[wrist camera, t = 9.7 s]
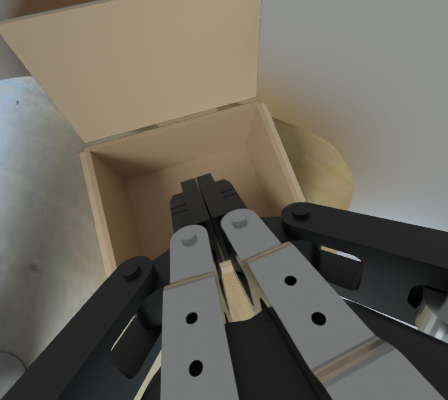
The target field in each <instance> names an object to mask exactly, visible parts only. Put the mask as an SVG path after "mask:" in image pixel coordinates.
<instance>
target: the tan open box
mask: <svg viewBox="0 0 448 400" xmlns="http://www.w3.org/2000/svg"><path fill="white" fill-rule="evenodd" d="M79 154H80V159H81V163H82V168H83V172H84V177H85V181H86V186H87V190H88V195H89V200H90V204H91V209H92V213H93V218H94V222H95V227H96V231H97V236H98V241H99V245H100V250H101V254H102V259H103V263H104V268H105V272H106V277H107V278H108V277H109V276H110V275H111V274H112V273H113V272H114V270H115V269H116V268H117V267H118V266H119V265H120V264H122V263H123V262H124V261H126V260H128V259H130V258H132V257H136V256H146V257H148V258H150V260H151V261H152V260H154V259H155V258H157V257H158V256H160V255H162V254H163V253H164V252H166V251H167V250H168V249H169V248H170V240H171V238H172V236H173V235H174V231H173V224H172V217H171V209H170V203H169V202H170V200H171V198H172V196H173V195H175V194H178V193H182V192H183V191H182V187H181V183H180V182H183V181H186V180H189V179H192V178H195V180H196V182H197V179H196V177H198V176H202V175H205V174H208V173H211V175H212V177H213V179H214V181H215V182H216V181H219V180H222V179H225V180H227V181H229V182H231V184H232V185H233V187H234V189H235V190H236V191H237V194H238V195H239V196H240V198H241V199H242V201H243V202H244V204H245V205H246V207H247V209H249V210H252V211H254V212H255V213H256V214H257V215H258V216H259V217H277V216H281V212H282V210H283V209H284V207H286V206H287V205H289V204H292V203H296V202H306V201H305V198H304V196H303V193H302V191H301V188H300V186H299V184H298V181H297V179H296V176H295V174H294V171H293V169H292V166H291V164H290V161H289V159H288V156H287V154H286V152H285V149H284V147H283V144H282V142H281V139H280V137H279V134H278V132H277V129H276V127H275V124H274V122H273V119H272V117H271V115H270V112H269V110H268V107H267V105H266V102H264V103H261V102H260V100H258V101H254V102H250V103H247V104H243V105H239V106H236V107H232V108H228V109H225V110H221V111H217V112H214V113H210V114H206V115H203V116H199V117H195V118H192V119H188V120H184V121H181V122H177V123H173V124H169V125H166V126H162V127H158V128H155V129H151V130H147V131H143V132H140V133H136V134H132V135H129V136H125V137H121V138H118V139H114V140H110V141H107V142H103V143H99V144H96V145H92V146H88V147H85V148H84V152H81V153H79ZM197 185H198V183H197ZM198 188H199V186H198ZM199 190H200V189H199ZM200 193H201V192H200ZM217 242H218V241H217ZM218 246H219V244H218ZM219 249H220V247H219ZM220 252H221V249H220ZM221 256H222V259H223V262H222V263H219V264H220V267H221V270H222V275H223V274H226V273H228V272H231V271H234V270H233V266H232V263H231V261H230V260H227V261H225V260H224V257H223V255H222V252H221Z"/></svg>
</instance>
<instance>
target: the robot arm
mask: <svg viewBox="0 0 448 400" xmlns="http://www.w3.org/2000/svg"><path fill="white" fill-rule="evenodd" d="M196 179H197V182H196V180H195V178H192V179H189V180H186V181H183V182H180V183H181V187H182V191H183V192H182V193H178V194H175V195H173V196H172V198H171V200H170V202H169V203H170V209H171V217H172V224H173V231H174V235H173V236H172V238H171V240H170V248H169V249H168V250H167V251H166V252H164V253H163V254H162V255H160V256H158V257H157V258H155V259H154V260H152V261H151V260H150V258H148V257H146V256H136V257H132V258H130V259H128V260H126V261H124V262H123V263H122V264H120V265H119V266H118V267H117V268H116V269H115V270H114V272H113V273H112V274H111V275H110V276H109V277H108V278H107V279H106V281H105V282H104V283H103V284H102V285H101V286H100V287H99V289H98V290H97V291H96V292H95V293H94V294H93V295H92V296H91V298H90V299H89V300H88V301H87V302H86V303H85V304H84V306H83V307H82V308H81V309H80V310H79V311H78V312H77V313H76V315H75V316H74V317H73V318H72V319H71V320H70V321H69V322H68V324H67V325H66V326H65V327H64V328H63V329H62V330H61V332H60V333H59V334H58V335H57V336H56V337H55V338H54V339H53V341H52V342H51V343H50V344H49V345H48V346H47V347H46V349H45V350H44V351H43V352H42V353H41V354H40V355H39V356H38V358H37V359H36V360H35V361H34V362H33V363H32V364H31V365H30V367H29V368H28V369H27V370H25V367H24V366H23V364H22V363H21V361H20V360H19V359H17V358H16V357H15V356H13V355H11V354H9V353H4V352H0V400H134V398H135V396H136V394H137V392H138V391H139V389H140V387H141V385H142V383H143V382H144V380H145V378H146V376H147V374H148V372H149V371H150V369H151V367H152V365H153V363H154V361H155V360H156V358H157V356H158V354H159V352H160V351H161V349H162V355H161V367H160V368H159V370H158V371H157V372H156V374H155V375H154V376H153V378H152V380H151V381H150V383H149V384H148V386H147V388H146V390H145V392H144V394H143V396H142V398H141V400H448V232H445V231H440V230H436V229H431V228H426V227H422V226H417V225H412V224H407V223H402V222H398V221H393V220H388V219H383V218H379V217H374V216H369V215H364V214H360V213H355V212H350V211H346V210H341V209H336V208H331V207H327V206H322V205H317V204H312V203H307V202H296V203H292V204H289V205H287V206H286V207H284V209H283V210H282V212H281V216H277V217H259V216H258V215H257V214H256V213H255V212H254V211H252V210H249V209H247V207H246V205H245V204H244V202H243V201H242V199H241V198H240V196H239V195H238V194H237V191H236V190H235V189H234V187H233V185H232V184H231V182H229V181H227V180H225V179H222V180H219V181H216V182H215V181H214V179H213V177H212V175H211V173H208V174H205V175H202V176H198V177H196ZM197 183H198V185H197ZM198 186H199V188H198ZM199 189H200V190H199ZM200 192H201V193H200ZM217 241H218V242H217ZM218 244H219V246H218ZM321 246H325V247H328V248H331V249H334V250H338V251H341V252H344V253H348V254H351V255H354V256H356V257H357V258H359V259H360V260H361V262H360V261H356V260H353V259H350V258H347V257H343V256H340V255H337V254H334V253H331V252H328V251H324V250H321ZM219 247H220V249H221V252H222V255H223V257H224V260H225V261H227V260H230V261H231V263H232V266H233V270H234V273H235V276H236V278H237V280H238V282H239V284H240V286H241V288H242V290H243V292H244V294H245V296H246V298H247V300H248V302H249V304H250V306H251V308H252V310H253V312H254V314H255V316H254V317H252V318H251V319H249V320H245V321H238V322H233V321H232V317H231V313H230V308H229V304H228V300H227V295H226V291H225V287H224V282H223V279H222V270H221V267H220V264H219V263H222V262H223V259H222V256H221V252H220V249H219ZM340 296H342V297H344V298H347V299H349V300H352V301H354V302H352V301H349V300H345V299H342V298H341V297H340ZM355 302H356V303H355ZM357 303H359V304H357ZM360 304H361V305H360ZM362 305H364V306H366V307H364V306H362ZM367 307H369V308H371V309H374V310H377V311H379V312H381V313H384V314H386V315H389V316H391V317H394V318H396V319H399V320H401V321H403V322H406V323H408V324H411V325H413V326H416V327H417V328H418V330H416V329H414V328H412V327H410V326H408V325H405V324H403V323H401V322H398V321H396V320H394V319H392V318H389V317H387V316H384V315H382V314H380V313H378V312H376V311H373V310H371V309H369V308H367ZM133 316H135V317H134V319H133V320H132V322H131V323H130V325H129V326H128V328H127V329H126V330H125V332H124V333H123V335H122V336H121V338H120V339H119V341H118V342H117V343H116V345H115V346H114V348H113V349H112V347H113V345H114V343H115V342H116V340H117V339H118V337H119V336H120V335H121V333H122V332H123V330H124V329H125V327H126V326H127V325H128V323H129V322H130V320H131V319H132V317H133ZM111 349H112V351H111Z"/></svg>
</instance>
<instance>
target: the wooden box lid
mask: <svg viewBox="0 0 448 400" xmlns="http://www.w3.org/2000/svg"><path fill="white" fill-rule="evenodd" d="M261 2H262V0H97V1H93V2H88V3H83V4H78V5H74V6H69V7H64V8H60V9H55V10H50V11H45V12H40V13H35V14H31V15H26V16H21V17H16V18H12V19H7V20H2V21H0V35H1V36H2V37H3V38H4V40H5V41H6V42H7V44H8V45H9V46H10V47H11V49H12V50H13V51H14V53H15V54H16V55H17V57H18V58H19V59H20V60H21V61H22V63H23V64H24V66H25V67H26V68H27V69H28V71H29V72H30V73H31V74H32V76H33V77H34V78H35V80H36V81H37V82H38V84H39V85H40V86H41V87H42V89H43V90H44V91H45V93H46V94H47V95H48V96H49V98H50V99H51V100H52V102H53V103H54V104H55V105H56V107H57V108H58V109H59V111H60V112H61V113H62V114H63V116H64V117H65V118H66V120H67V121H68V122H69V123H70V125H71V126H72V127H73V129H74V130H75V131H76V132H77V134H78V135H79V136H80V138H81V139H82V140H83V141H84V143H87V142H91V141H94V140H98V139H102V138H105V137H109V136H113V135H116V134H120V133H124V132H128V131H131V130H135V129H139V128H142V127H146V126H150V125H154V124H157V123H161V122H165V121H168V120H172V119H176V118H179V117H183V116H187V115H191V114H194V113H198V112H202V111H206V110H209V109H213V108H217V107H220V106H224V105H228V104H231V103H235V102H239V101H243V100H246V99H250V98H254V97H256V95H257V77H258V59H259V40H260V39H259V38H260V22H261Z"/></svg>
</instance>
